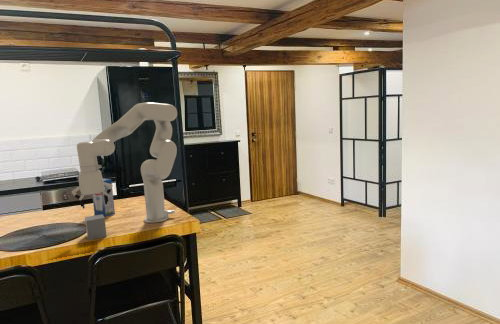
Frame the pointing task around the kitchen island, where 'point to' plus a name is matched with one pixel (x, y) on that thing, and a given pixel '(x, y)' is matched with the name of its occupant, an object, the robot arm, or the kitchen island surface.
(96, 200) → the milk carton
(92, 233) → the gray cube
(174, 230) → the kitchen island surface
